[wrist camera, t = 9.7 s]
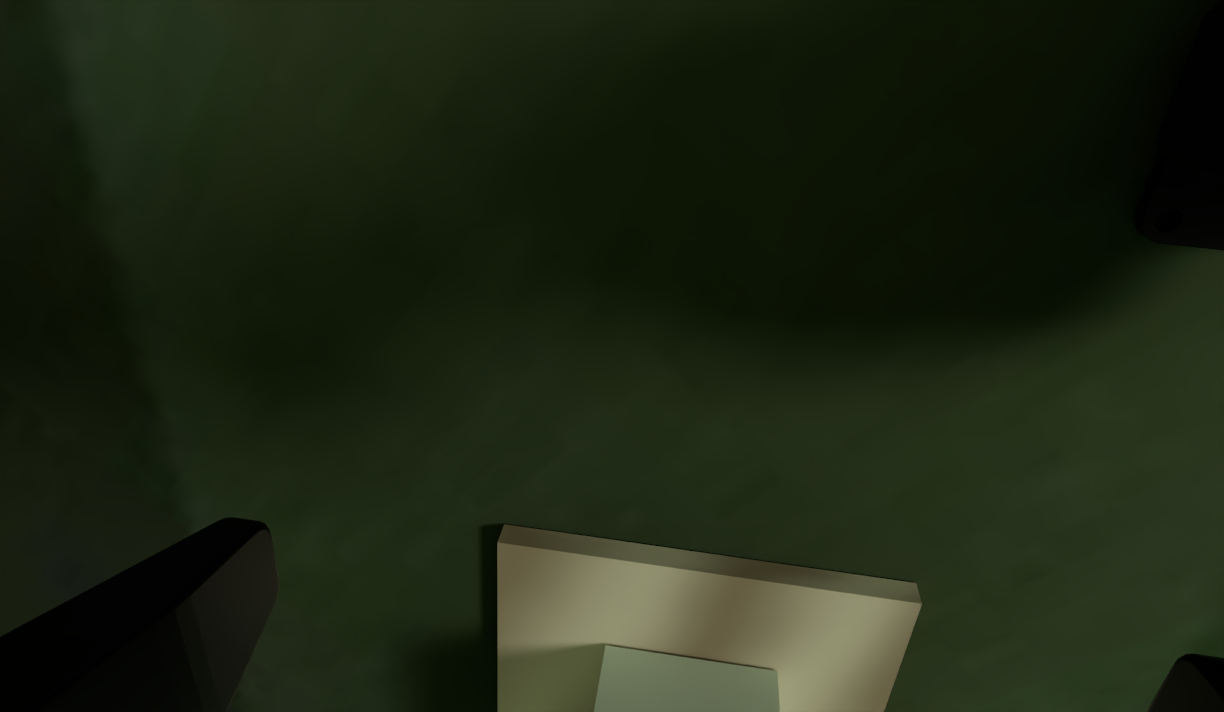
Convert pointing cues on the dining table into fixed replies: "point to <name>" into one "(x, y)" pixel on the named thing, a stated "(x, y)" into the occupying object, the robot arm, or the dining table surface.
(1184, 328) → the dining table surface
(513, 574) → the peg on square board
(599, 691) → the pale grey block
